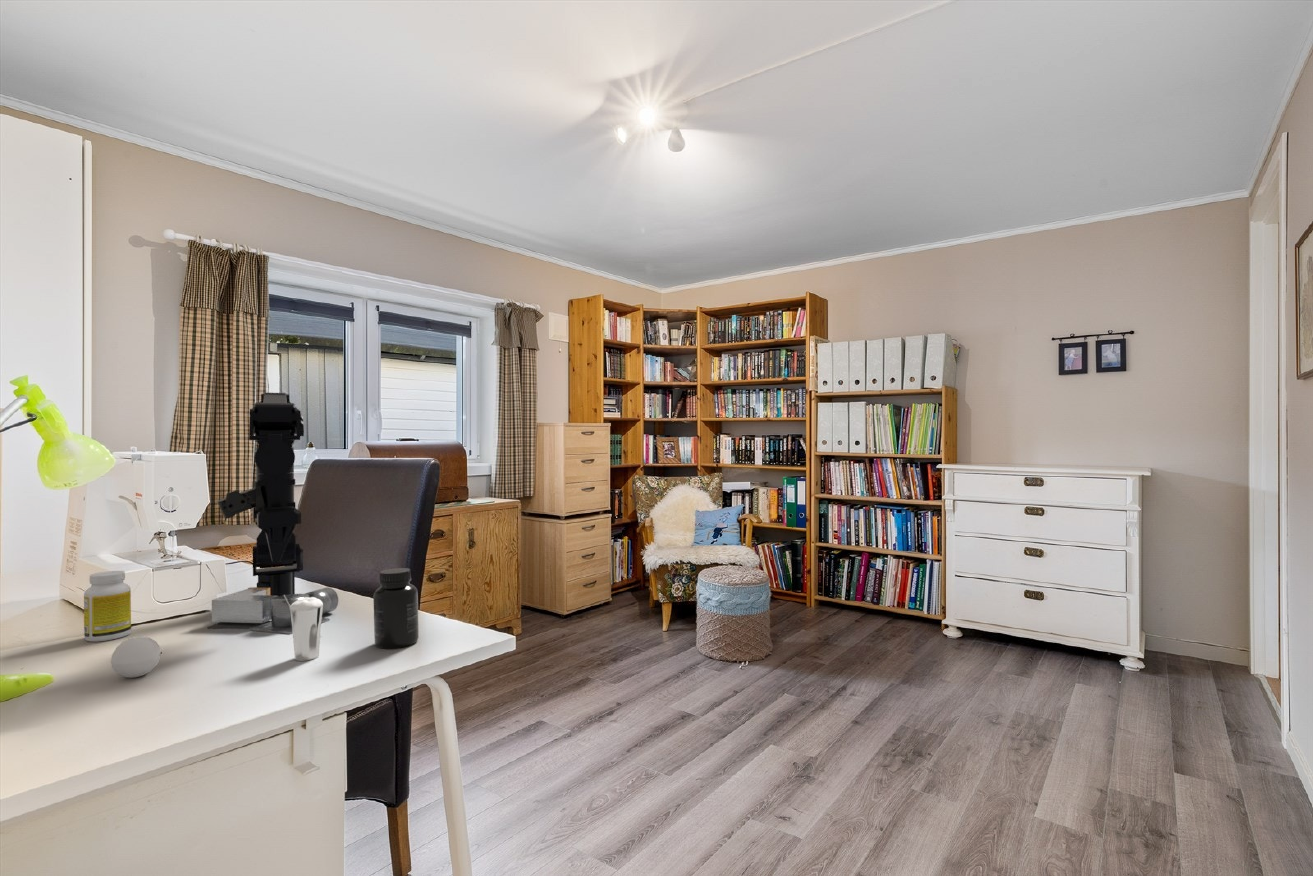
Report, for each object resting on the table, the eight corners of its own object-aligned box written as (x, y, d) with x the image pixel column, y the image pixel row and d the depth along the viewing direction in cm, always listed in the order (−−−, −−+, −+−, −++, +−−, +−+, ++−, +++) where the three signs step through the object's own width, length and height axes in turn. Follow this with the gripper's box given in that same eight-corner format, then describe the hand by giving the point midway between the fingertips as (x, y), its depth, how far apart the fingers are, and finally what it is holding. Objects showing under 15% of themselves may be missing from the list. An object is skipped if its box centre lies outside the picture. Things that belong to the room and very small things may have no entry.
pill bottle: (140, 632, 115) (140, 569, 115) (107, 643, 109) (107, 577, 109) (108, 631, 116) (108, 569, 116) (74, 642, 109) (73, 576, 109)
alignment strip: (275, 622, 121) (275, 620, 121) (262, 628, 117) (262, 626, 117) (222, 622, 121) (222, 620, 121) (207, 628, 117) (207, 627, 117)
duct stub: (309, 610, 128) (309, 585, 128) (347, 614, 126) (347, 588, 126) (249, 630, 115) (249, 602, 115) (290, 634, 113) (289, 605, 113)
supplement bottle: (408, 634, 112) (407, 564, 112) (425, 643, 107) (425, 570, 107) (367, 643, 107) (366, 570, 107) (383, 652, 102) (383, 576, 103)
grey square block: (298, 609, 127) (298, 588, 127) (262, 623, 117) (262, 600, 117) (250, 608, 128) (250, 587, 128) (211, 622, 118) (211, 599, 118)
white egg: (162, 677, 93) (162, 637, 93) (110, 686, 89) (110, 645, 89) (160, 663, 99) (160, 626, 99) (112, 671, 95) (111, 633, 95)
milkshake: (287, 655, 101) (286, 591, 102) (325, 651, 103) (324, 588, 103) (281, 664, 97) (280, 598, 97) (321, 660, 99) (320, 594, 99)
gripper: (219, 473, 118) (220, 559, 118) (221, 477, 103) (221, 576, 102) (290, 471, 124) (290, 553, 124) (301, 474, 109) (301, 567, 109)
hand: (275, 561), depth 115 cm, fingers closed
